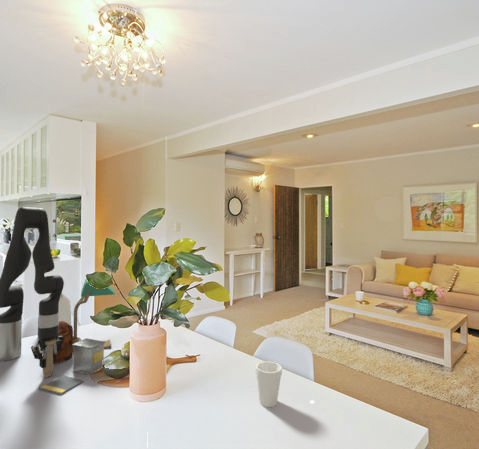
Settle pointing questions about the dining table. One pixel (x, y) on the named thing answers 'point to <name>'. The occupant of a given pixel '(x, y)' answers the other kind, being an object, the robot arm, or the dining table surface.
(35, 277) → the robot arm
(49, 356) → the handle
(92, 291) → the banker's lamp
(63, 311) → the milk
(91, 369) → the tin
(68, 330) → the wooden figurine
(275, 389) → the foam cup
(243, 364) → the dining table surface
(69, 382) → the mat
